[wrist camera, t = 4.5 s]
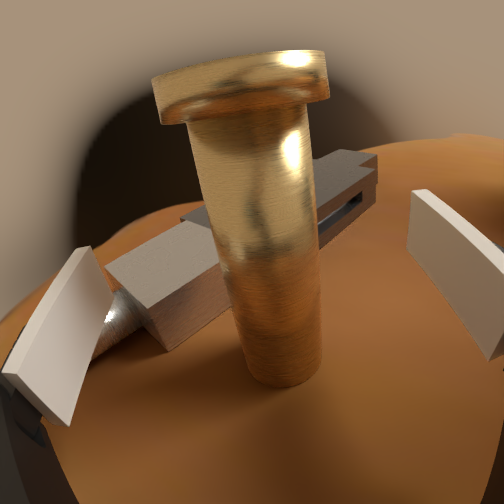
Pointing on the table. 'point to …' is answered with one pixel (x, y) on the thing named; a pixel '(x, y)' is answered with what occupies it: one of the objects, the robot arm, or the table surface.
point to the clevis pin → (259, 196)
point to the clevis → (215, 259)
